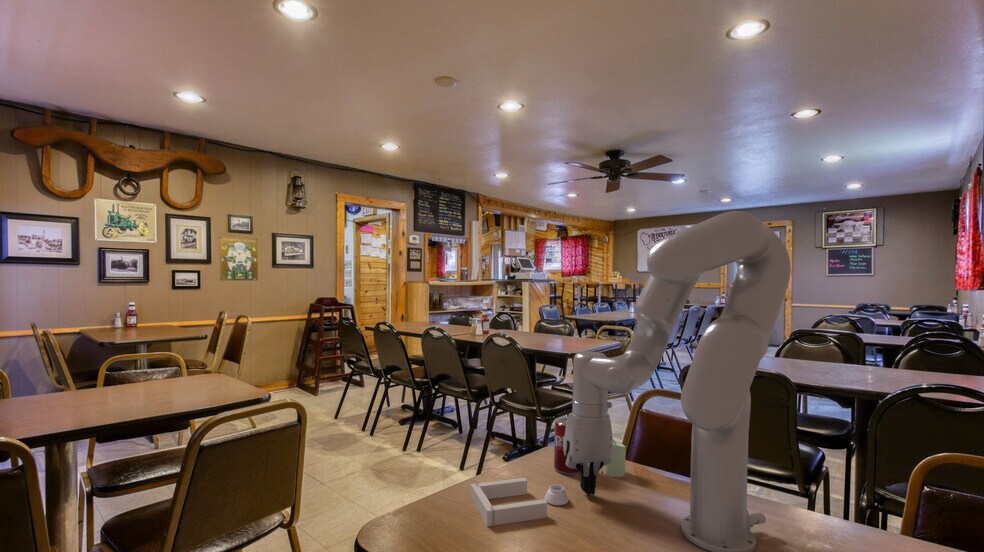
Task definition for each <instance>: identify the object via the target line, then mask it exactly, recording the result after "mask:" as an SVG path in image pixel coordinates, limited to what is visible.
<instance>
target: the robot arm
mask: <svg viewBox="0 0 984 552" xmlns="http://www.w3.org/2000/svg"><path fill="white" fill-rule="evenodd" d="M790 259H791V258H790V254H789V252H788V250H787V247H786V245H785V244H784V242H783V240H782V239H781V238H780V237H779V236H778V235H777V234H776V233H775V231H773V230H772V229H771V228H770V227H769V226H767V225H766V223H764V222H763V221H762V220H760V219H759V218H757V217H756V216H754V215H753V214H751V213H749V212H747V211H742V210H732V211H727V212H726V211H725V212H723V213H720V214H718V215H715V216H713V217H711V218H707V219H705V220H703V221H701V222H699V223H697V224H694V225H692V226H690V227H687V228H685V229H682V230H680V231H679V232H675V233H674V234H672V235H669V236H666V237H664V238H662V239H660V240H658V241H657V242H655V244H653V246H652V247H651V249H649V252H648V253H647V258H646V265H647V266H646V267H647V270H648V272H649V276H648V277H647V280H646V282H645V284H644V286H643V287H642V290H641V292H640V294H639V295H638V298H637V300H636V302H635V304H634V309H633V310H634V314H635V317H636V327H635V331H634V334H633V335H632V338H631V340H630V342H629V344H628V346H627V348H626V350H625V352H624V353H622V354H621V355H620V354H619V355H618V356H613V357H608V356H607V355H606V354H605V353H602V352H598V351H592V350H591V351H588V350H587V351H579V352H576V353H575V355H574V356H573V362H572V364H573V366H572V367H573V368H572V369H573V370H572V374H573V375H572V409H571V411H572V412H571V413H570V412H569V413H568V416H567V418H568V419H567V424H566V429H565V438H564V455H565V456H566V457H567V459H566V466H567V467H568V468H572V469H577V470H578V471H579V472H580V473H579V474H580V482H579V483H580V484H579V485H580V488H581V490H582V492H584V493H585V494H586V495H587V496H591V495H595V494H596V488H597V476H598V475H600V471H601V469H602V468H604V466H605V465H607V464H610V463H611V457H612V453H613V441H614V440H613V439H614V438H613V429H612V421H611V418H610V414H608V411H609V409H612V407H613V404H612V402H611V401H609V400H608V397H609V395H608V393H612V394H617V395H625V394H626V395H627V394H629V393H631V392H633V391H635V390H636V389H637V388H640V387H641V386H643V385H645V384H646V383H647V382H649V380H650V379H651V378H652V377H653V374H654V372H655V370H656V369H657V367H658V365H659V363H660V361H661V360H662V357H664V354H665V352H666V350H667V346H668V344H669V341H670V339H671V336H672V334H673V331H674V328H675V325H676V323H677V320H678V318H679V317H680V315H681V314H682V313H681V312H682V311H683V309H684V307H685V305H686V304H687V302H688V300H689V297H690V295H691V294H692V292H693V290H694V288H695V287H696V285H697V283H698V281H699V279H700V277H701V275H702V274H704V273H707V272H711V271H713V270H716V269H719V268H721V267H723V266H726V265H727V266H728V264H729V265H730V264H731V263H735V264H736V273H735V278H734V280H733V281H732V284H731V287H730V289H729V292H728V297H727V299H726V302H725V305H724V306H723V309H722V312H721V314H720V315H719V317H718V318H716V319H715V320H713V321H712V322H710V323H709V324H708V325H707V326H706V328H705V329H704V331H703V333H702V335H701V336H700V338H699V341H698V344H697V347H696V349H695V352H694V354H693V358H692V360H691V364H690V367H689V368H688V371H687V375H686V377H685V380H684V383H683V386H682V389H681V394H680V404H681V409H682V411H683V414H684V415H685V417H686V418H687V420H688V421H689V422H690V423H691V424H692V426H691V427H692V428H691V443H690V444H691V447H690V448H691V449H690V453H691V454H690V488H689V489H690V493H689V494H690V496H689V515H687V516H685V517H683V519H682V520H681V523H680V529H681V532H682V535H683V536H684V537H685V538H686V539H687V540H688V541H690V543H692V544H694V545H695V546H698V547H699V548H701V549H704V550H706V551H708V552H754V550H755V549H756V547H757V541H756V540H757V539H756V537H755V535H754V534H753V532H752V531H751V528H753V527H754V525H755V526H756V525H762V524H765V523H766V522H767V521H766V520H767V519H766V516H765V514H764V513H762V512H760V511H758V512H753V513H749V510H748V507H747V506H748V505H747V503H748V500H747V499H748V461H749V460H748V459H749V432H750V419H751V409H752V408H751V406H752V405H751V404H752V398H751V397H752V395H751V390H750V388H751V386H752V383H753V380H754V378H755V375H756V372H757V370H758V367H759V365H760V362H761V360H762V359H763V358H764V357H765V355H766V354H767V351H768V349H769V345H770V344H769V343H770V340H771V339H770V338H771V336H772V333H773V330H774V327H775V325H776V323H777V319H778V317H779V313H780V310H781V308H782V305H783V301H784V298H785V296H786V292H787V289H788V287H789V283H790V280H791V279H790V277H791V271H792V270H791V266H792V265H791V260H790Z"/></svg>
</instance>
